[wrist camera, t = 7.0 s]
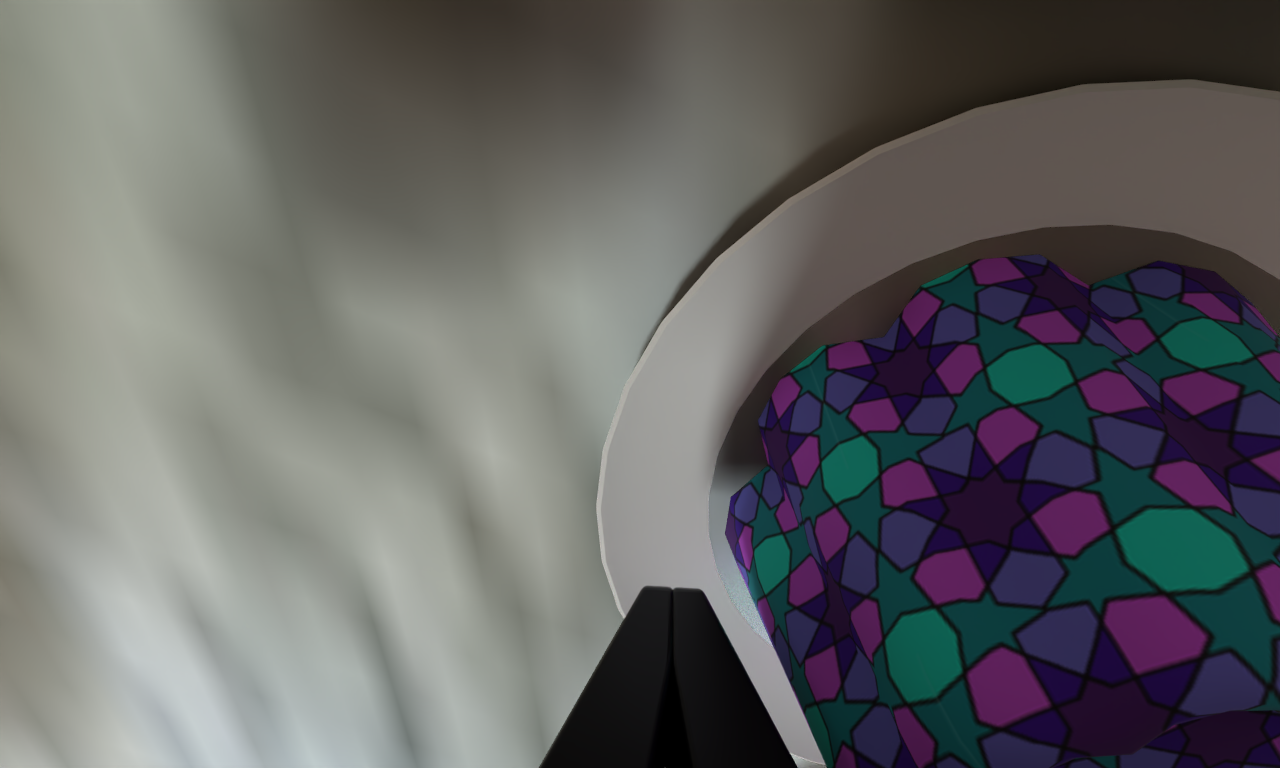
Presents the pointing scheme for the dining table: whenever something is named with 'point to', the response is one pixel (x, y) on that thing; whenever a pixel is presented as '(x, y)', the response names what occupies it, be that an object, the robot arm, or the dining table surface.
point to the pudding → (990, 448)
